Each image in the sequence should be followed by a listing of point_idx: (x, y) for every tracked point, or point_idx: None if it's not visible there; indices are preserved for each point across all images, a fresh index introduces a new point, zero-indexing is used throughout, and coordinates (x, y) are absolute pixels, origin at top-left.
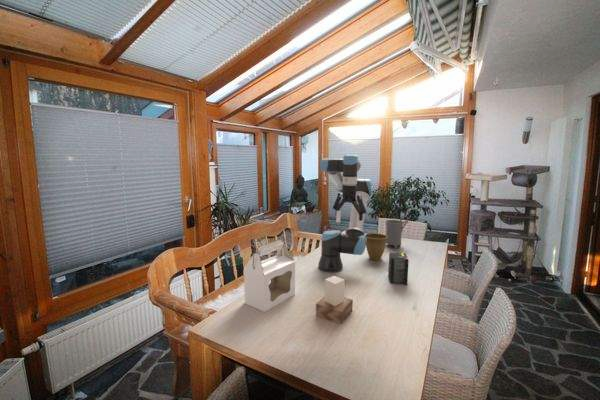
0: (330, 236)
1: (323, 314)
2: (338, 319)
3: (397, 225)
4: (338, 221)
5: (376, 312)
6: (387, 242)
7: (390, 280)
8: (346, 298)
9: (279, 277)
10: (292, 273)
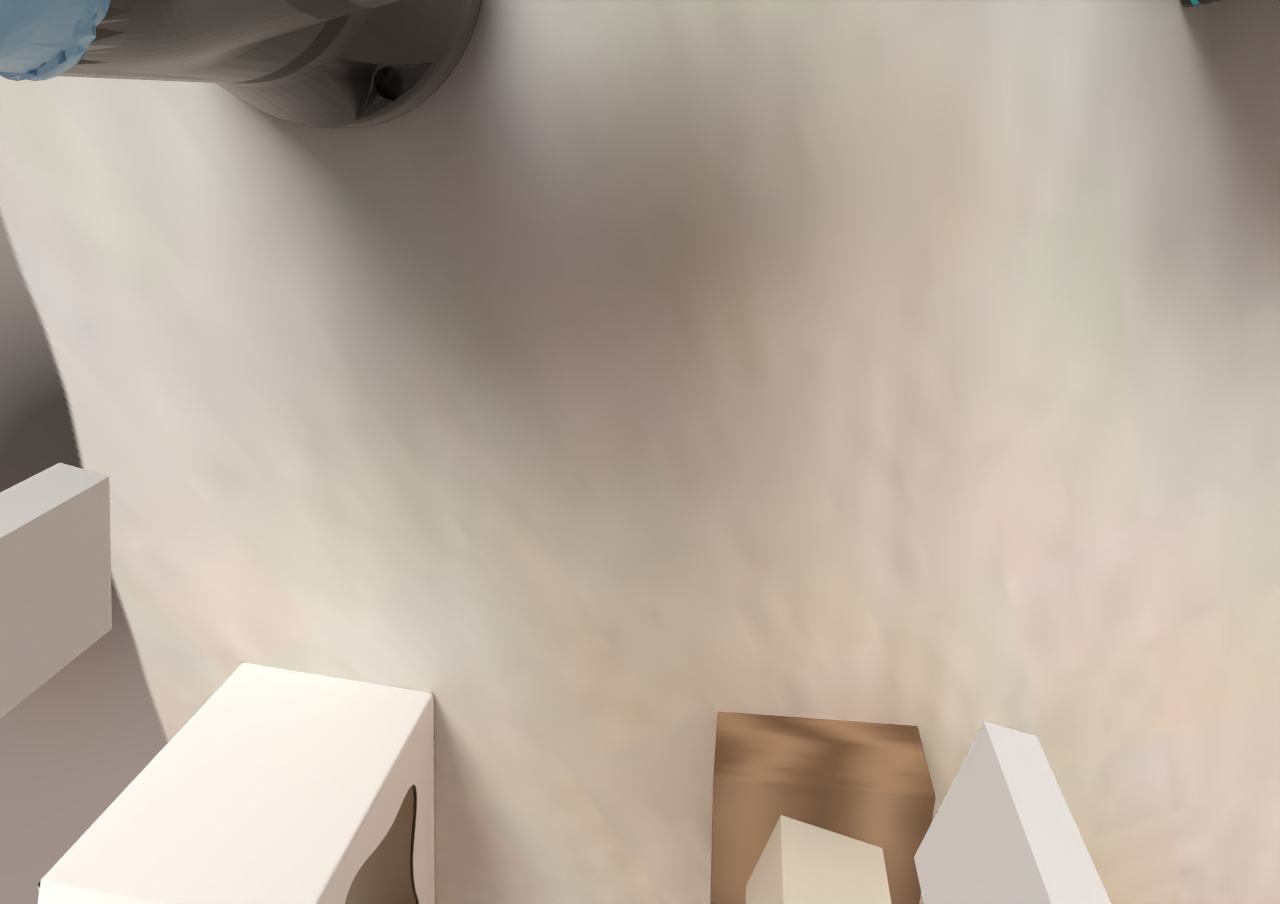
0: (34, 49)
1: None
2: None
3: None
4: (85, 596)
5: (1097, 669)
6: None
7: (1203, 3)
8: (882, 801)
9: (228, 733)
10: (356, 864)
